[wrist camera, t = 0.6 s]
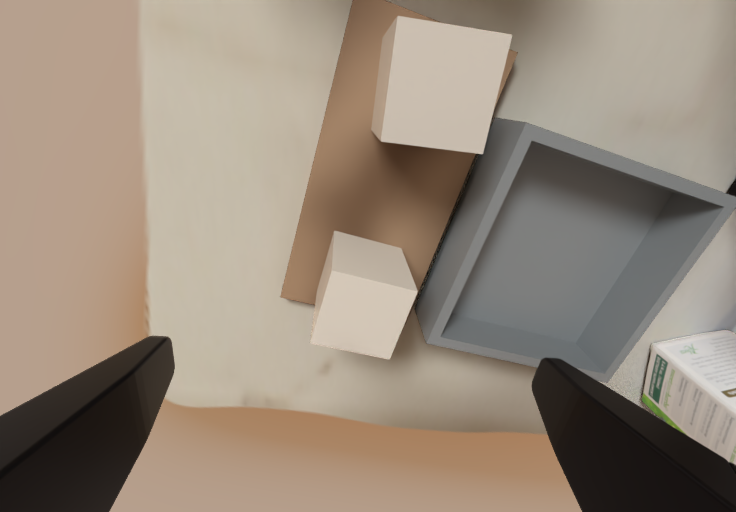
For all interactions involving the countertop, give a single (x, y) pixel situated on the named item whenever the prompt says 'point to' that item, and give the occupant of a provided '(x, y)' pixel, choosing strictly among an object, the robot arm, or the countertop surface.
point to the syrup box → (696, 388)
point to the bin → (563, 251)
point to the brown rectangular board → (372, 168)
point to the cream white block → (438, 84)
